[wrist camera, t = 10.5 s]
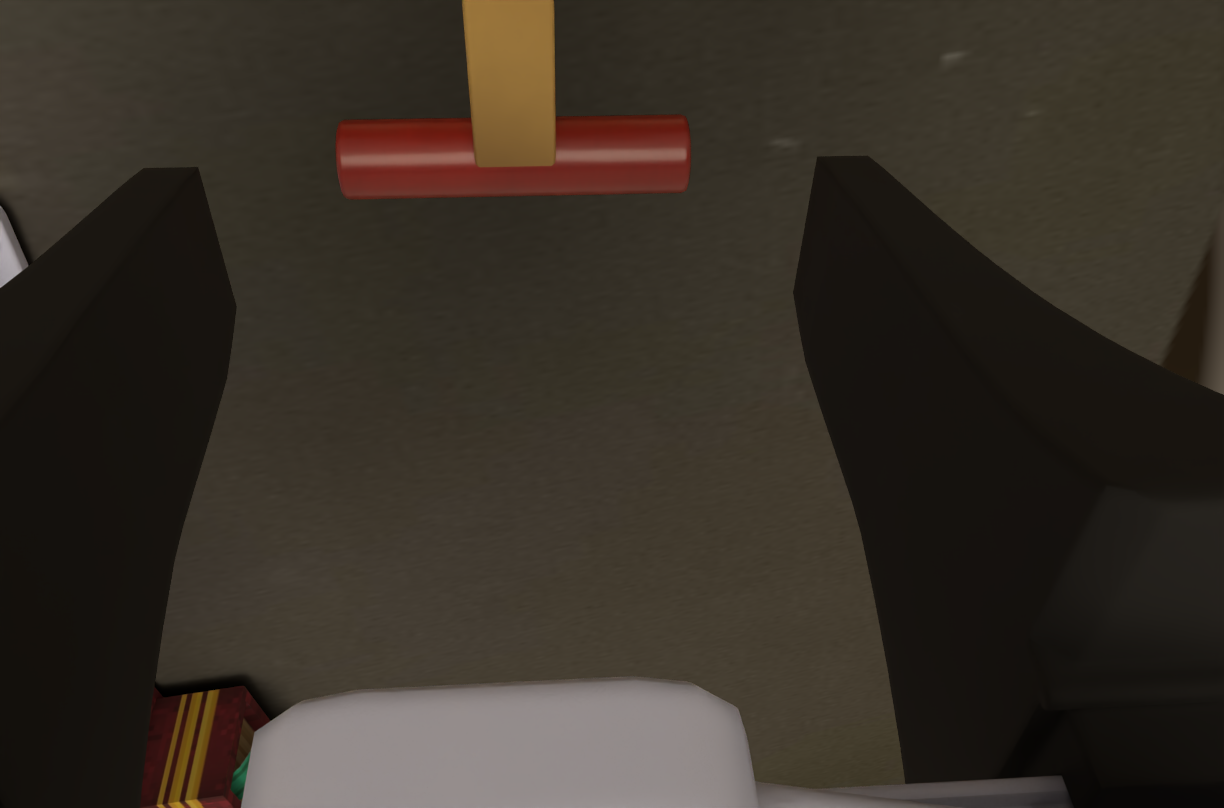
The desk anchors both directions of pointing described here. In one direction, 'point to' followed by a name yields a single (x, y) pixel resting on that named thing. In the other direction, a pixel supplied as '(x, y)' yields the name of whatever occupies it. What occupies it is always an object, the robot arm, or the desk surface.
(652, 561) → the desk surface
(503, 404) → the desk surface
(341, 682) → the desk surface
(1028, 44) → the desk surface
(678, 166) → the switch lever
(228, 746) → the decorative book
